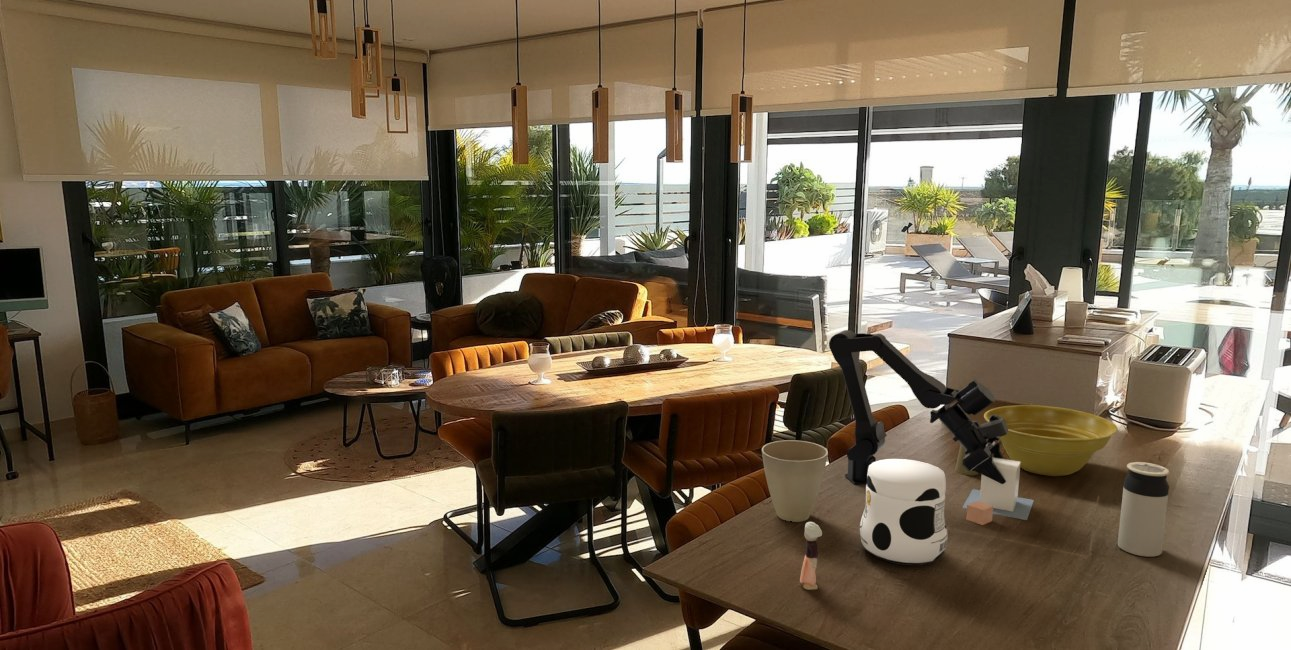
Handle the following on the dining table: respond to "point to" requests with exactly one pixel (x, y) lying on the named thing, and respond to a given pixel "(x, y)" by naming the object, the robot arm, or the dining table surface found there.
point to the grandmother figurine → (810, 556)
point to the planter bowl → (1052, 437)
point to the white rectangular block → (1002, 486)
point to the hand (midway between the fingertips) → (1006, 478)
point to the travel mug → (1143, 509)
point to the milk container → (904, 512)
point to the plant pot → (794, 476)
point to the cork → (959, 464)
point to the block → (979, 513)
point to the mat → (1019, 511)
